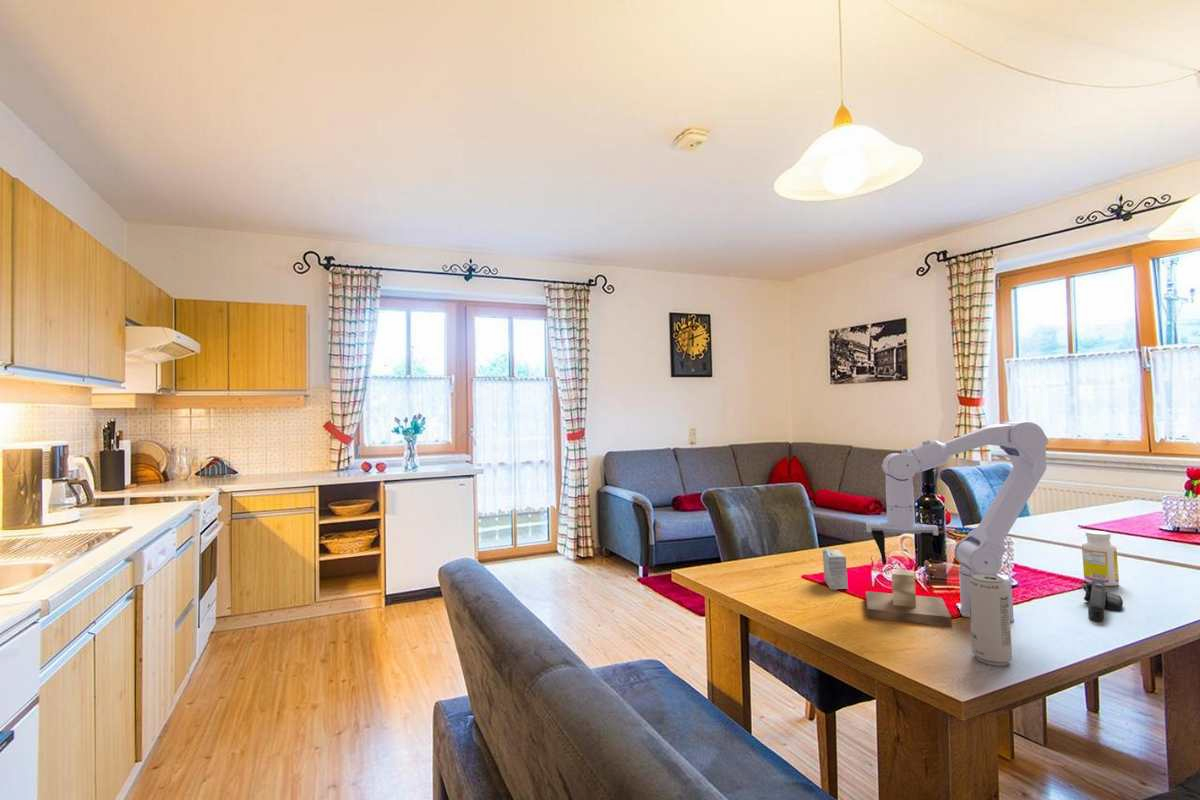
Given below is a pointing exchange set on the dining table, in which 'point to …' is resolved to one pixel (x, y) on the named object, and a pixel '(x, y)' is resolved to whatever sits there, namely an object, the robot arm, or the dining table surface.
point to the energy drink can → (990, 619)
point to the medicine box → (835, 569)
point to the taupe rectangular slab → (908, 609)
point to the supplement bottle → (1100, 558)
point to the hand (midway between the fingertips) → (902, 564)
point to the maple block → (903, 588)
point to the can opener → (1100, 600)
